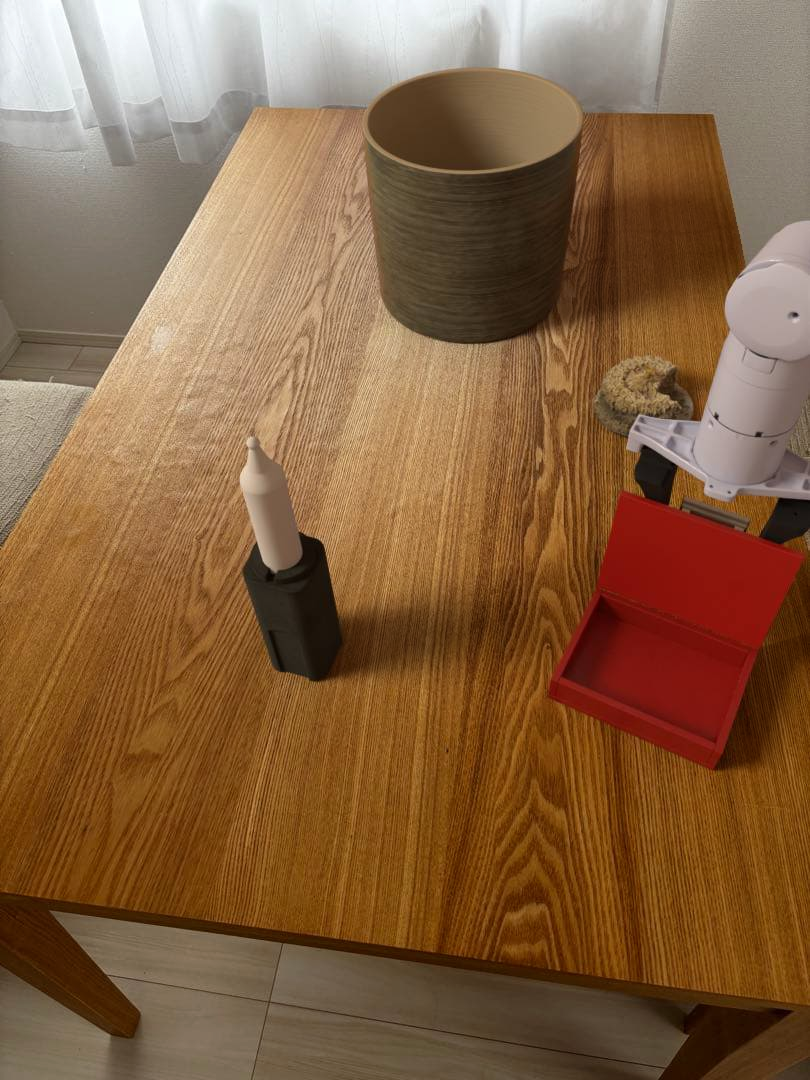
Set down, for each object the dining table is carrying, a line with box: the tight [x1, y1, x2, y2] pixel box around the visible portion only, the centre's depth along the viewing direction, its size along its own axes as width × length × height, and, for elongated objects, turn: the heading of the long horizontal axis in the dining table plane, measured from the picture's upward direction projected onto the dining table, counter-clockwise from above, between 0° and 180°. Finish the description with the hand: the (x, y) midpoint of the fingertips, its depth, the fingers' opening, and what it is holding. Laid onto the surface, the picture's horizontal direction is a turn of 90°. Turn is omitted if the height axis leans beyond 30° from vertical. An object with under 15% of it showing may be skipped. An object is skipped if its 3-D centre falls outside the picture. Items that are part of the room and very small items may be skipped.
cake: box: [592, 354, 695, 438], centre depth 87 cm, size 10×10×5 cm
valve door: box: [596, 489, 806, 650], centre depth 66 cm, size 10×13×4 cm
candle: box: [239, 435, 344, 682], centre depth 63 cm, size 5×5×25 cm
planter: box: [361, 66, 585, 344], centre depth 95 cm, size 22×22×20 cm
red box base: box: [547, 586, 759, 771], centre depth 68 cm, size 10×13×3 cm
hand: (706, 537), depth 67 cm, fingers open, 7 cm apart
